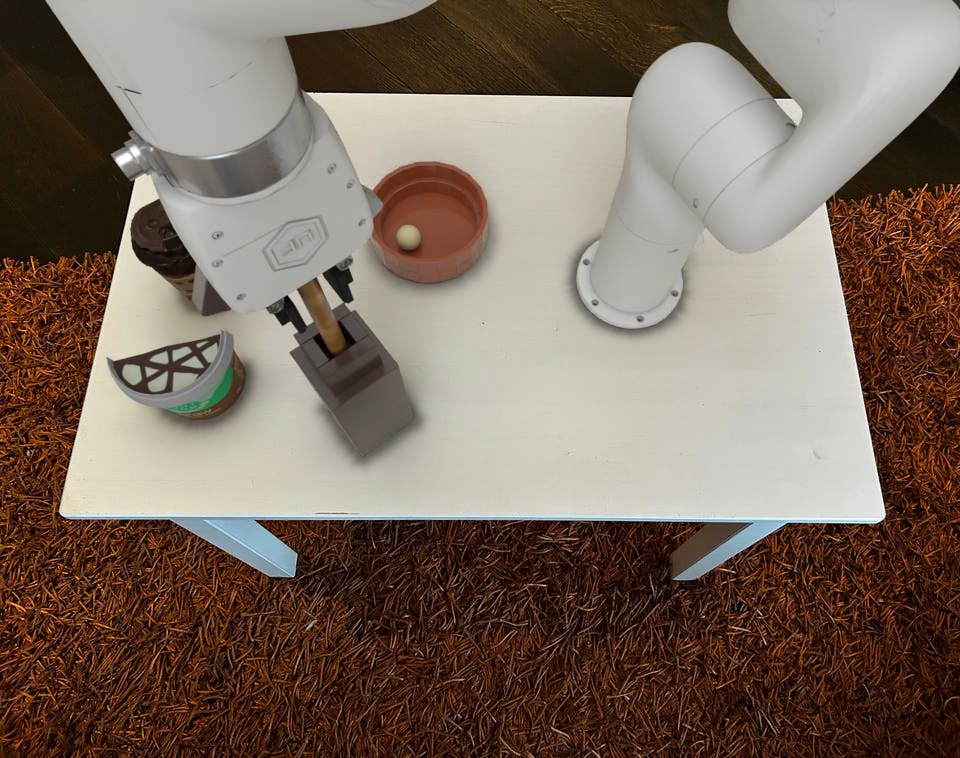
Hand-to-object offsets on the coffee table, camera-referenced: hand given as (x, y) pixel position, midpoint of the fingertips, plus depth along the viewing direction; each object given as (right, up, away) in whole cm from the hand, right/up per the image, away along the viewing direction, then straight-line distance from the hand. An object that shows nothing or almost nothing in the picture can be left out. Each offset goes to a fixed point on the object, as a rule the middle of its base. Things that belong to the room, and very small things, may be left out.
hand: (316, 302), depth 47 cm
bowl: (+6, +12, +33) cm, 36 cm away
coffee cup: (-20, +5, +31) cm, 37 cm away
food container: (-19, -8, +25) cm, 33 cm away
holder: (0, -10, +25) cm, 27 cm away
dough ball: (+3, +11, +31) cm, 33 cm away
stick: (0, -4, +10) cm, 11 cm away
